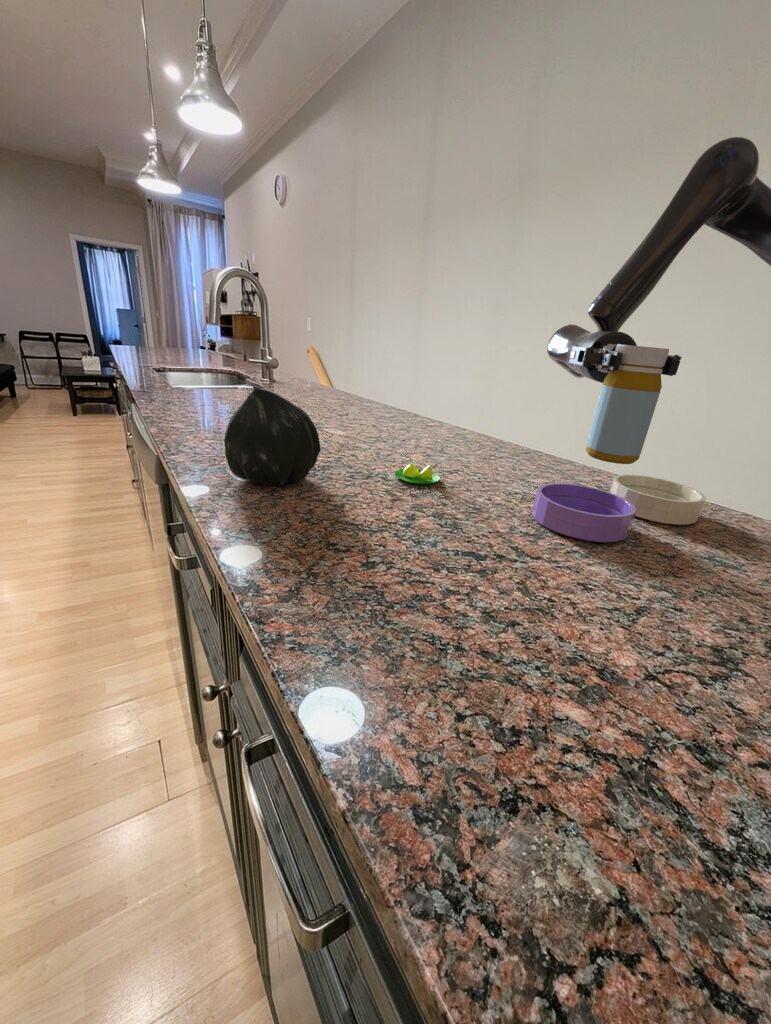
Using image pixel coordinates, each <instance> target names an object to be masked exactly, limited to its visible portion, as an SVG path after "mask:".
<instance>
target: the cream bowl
mask: <svg viewBox="0 0 771 1024" xmlns="http://www.w3.org/2000/svg"><path fill="white" fill-rule="evenodd" d="M608 492H610V493H612V494H615V495H618V496H620V497H622V498H624V499H626V500H628V501H629V502H631V503H632V504H633V505H634V506H635V507H636V515H635V517H637V518H640V519H643V520H646V521H651V522H656V523H662V524H668V525H675V526H676V525H681V526H682V525H692V524H696V523H697V522H698V520H699V517H700V515H701V513H702V510H703V507H704V505H705V502H706V500H707V497H706V496H705V494H704V493H702V492H701V491H699V490H697V489H695V488H693V487H690V486H688V485H685V484H682V483H679V482H677V481H673V480H668V479H664V478H659V477H656V476H655V477H654V476H650V475H643V474H642V475H640V474H619V475H615V476H614V477H613V478H612V481H611V485H610V488H609V491H608Z"/></svg>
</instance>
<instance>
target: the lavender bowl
mask: <svg viewBox="0 0 771 1024" xmlns="http://www.w3.org/2000/svg"><path fill="white" fill-rule="evenodd" d="M531 515H532V516H533V519H534V520H535V522H538V523H539V524H540V525H541V526H543V527H545V528H547V529H549V530H552V531H553V532H555V533H558V534H560V535H564V536H567V537H569V538H570V537H571V538H575V539H578V540H579V539H580V540H582V541H583V540H584V541H590V542H597V543H615V542H620V541H624V540H626V539H627V538H628V537H629V536H630V533H631V529H632V527H633V524H634V520H635V517H636V516H635V515H636V507H635V506H634V505H633V504H632V503H631V502H629V501H628V500H626V499H624V498H622V497H620V496H618V495H615V494H612V493H610V492H609V491H607V490H603V489H600V488H596V487H593V486H587V485H582V484H574V483H567V482H566V483H565V482H563V483H562V482H555V483H554V482H552V483H545V484H544V483H543V484H542V485H540V486H538V488H537V490H536V495H535V498H534V503H533V506H532V512H531Z"/></svg>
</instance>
